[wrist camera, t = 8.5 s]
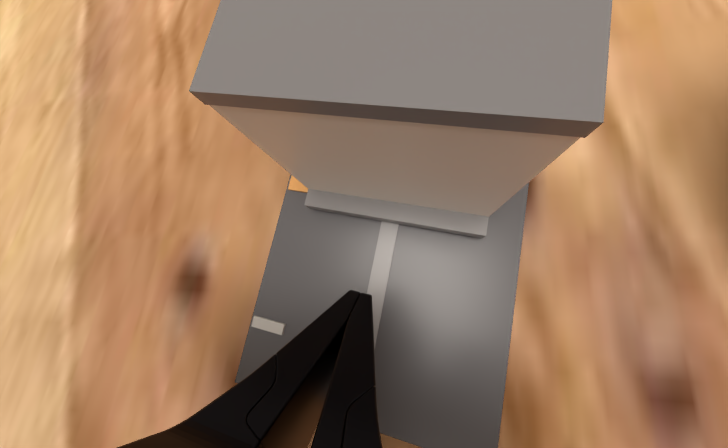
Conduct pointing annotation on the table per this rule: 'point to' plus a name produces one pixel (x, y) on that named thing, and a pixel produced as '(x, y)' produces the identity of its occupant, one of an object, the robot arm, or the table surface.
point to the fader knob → (409, 97)
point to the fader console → (403, 312)
